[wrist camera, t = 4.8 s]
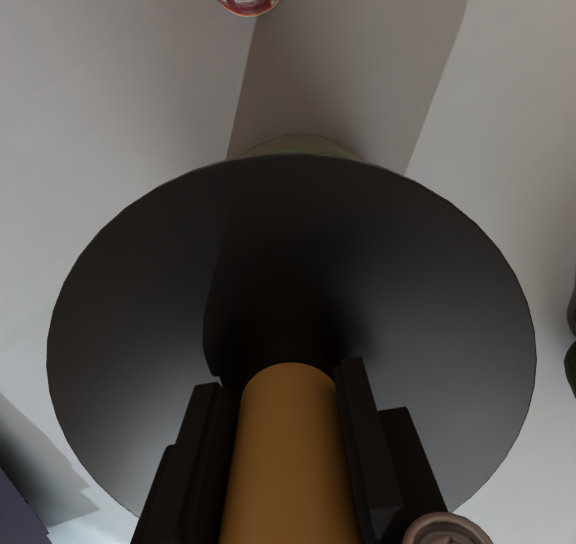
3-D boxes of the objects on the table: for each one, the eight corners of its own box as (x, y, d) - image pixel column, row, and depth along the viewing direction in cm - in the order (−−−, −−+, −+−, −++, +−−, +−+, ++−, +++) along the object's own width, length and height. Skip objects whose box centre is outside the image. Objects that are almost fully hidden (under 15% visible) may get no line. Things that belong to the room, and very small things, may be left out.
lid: (23, 457, 13) (-183, 729, 7) (148, 46, 9) (-112, -68, 3) (373, 570, 15) (425, 853, 9) (615, 280, 11) (984, 476, 5)
